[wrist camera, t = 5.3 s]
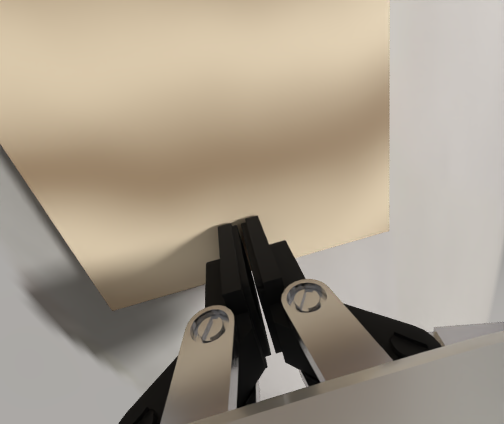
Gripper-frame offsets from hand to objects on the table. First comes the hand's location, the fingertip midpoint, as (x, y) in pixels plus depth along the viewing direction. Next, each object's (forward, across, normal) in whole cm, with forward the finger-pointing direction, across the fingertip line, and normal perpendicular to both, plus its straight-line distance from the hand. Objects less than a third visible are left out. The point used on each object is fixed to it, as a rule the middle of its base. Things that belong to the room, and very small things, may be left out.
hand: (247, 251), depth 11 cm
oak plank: (+2, 0, -5) cm, 5 cm away
